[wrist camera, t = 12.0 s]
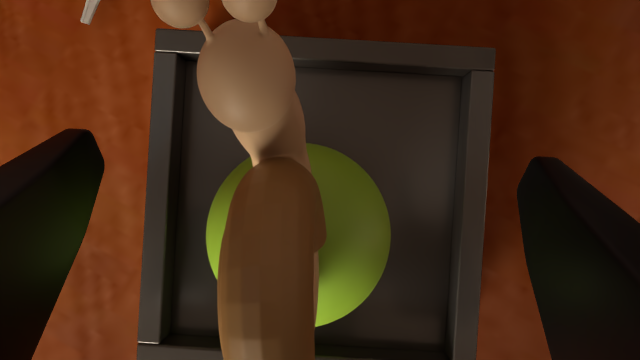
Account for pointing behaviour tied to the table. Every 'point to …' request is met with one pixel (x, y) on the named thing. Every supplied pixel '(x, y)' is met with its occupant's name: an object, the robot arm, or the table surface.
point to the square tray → (363, 148)
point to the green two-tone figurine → (278, 196)
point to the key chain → (89, 11)
